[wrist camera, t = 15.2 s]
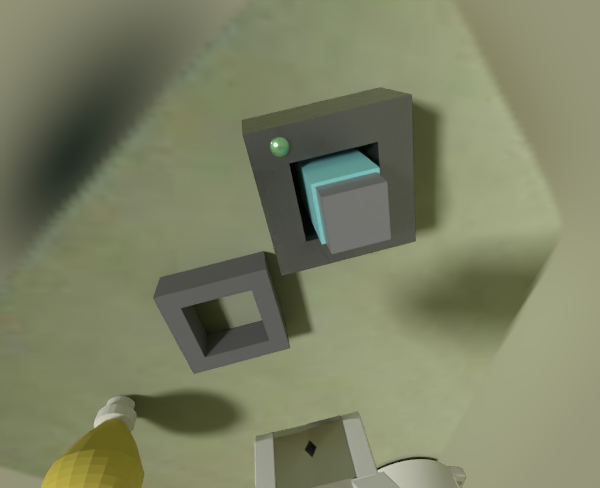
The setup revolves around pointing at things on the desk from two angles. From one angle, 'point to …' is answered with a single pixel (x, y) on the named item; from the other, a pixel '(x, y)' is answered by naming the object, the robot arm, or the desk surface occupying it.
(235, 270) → the frame
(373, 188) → the plug
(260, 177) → the port
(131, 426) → the light bulb
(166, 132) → the desk surface
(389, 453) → the desk surface
